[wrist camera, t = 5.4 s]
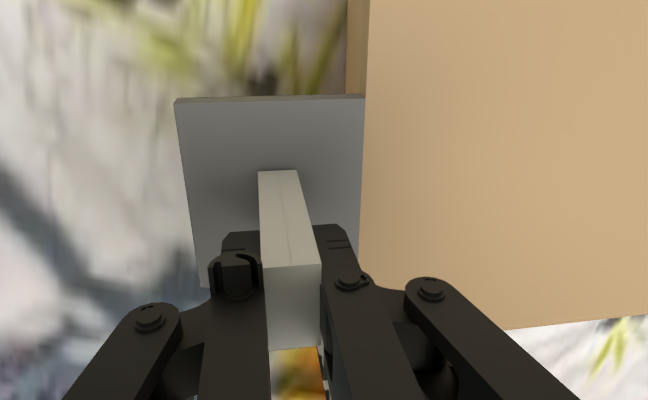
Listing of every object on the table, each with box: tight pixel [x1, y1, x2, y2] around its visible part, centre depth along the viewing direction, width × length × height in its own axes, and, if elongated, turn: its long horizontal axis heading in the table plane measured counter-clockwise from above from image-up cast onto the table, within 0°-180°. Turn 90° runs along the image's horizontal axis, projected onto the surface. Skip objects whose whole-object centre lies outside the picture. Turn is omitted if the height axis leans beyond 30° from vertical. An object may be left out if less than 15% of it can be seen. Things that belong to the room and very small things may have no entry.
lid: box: [173, 0, 648, 331], centre depth 19 cm, size 31×17×1 cm, turn 89°
